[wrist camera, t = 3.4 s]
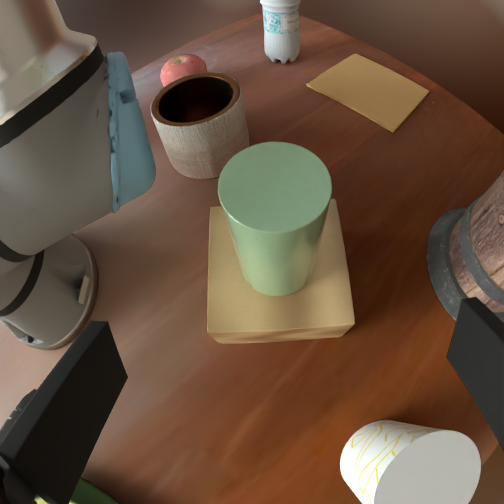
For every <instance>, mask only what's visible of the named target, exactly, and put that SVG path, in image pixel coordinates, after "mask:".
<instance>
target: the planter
mask: <svg viewBox="0 0 504 504" xmlns="http://www.w3.org/2000/svg"><path fill="white" fill-rule="evenodd" d="M150 112H151V116H152V118H153V121H154V123H155V125H156V128H157V130H158V133H159V135H160V138H161V140H162V143H163V145H164V148H165V150H166V153H167V155H168V158H169V160H170V163H171V164H172V166H173V167H174V169H175V170H176V171H177V172H178V173H180V174H181V175H183V176H185V177H188V178H192V179H211V178H216V177H219V176H220V174H221V172H222V170H223V168H224V167H225V165H226V164H227V163H228V161H229V160H230V159H231V158H232V157H233V156H235V155H236V154H237V153H239V152H240V151H242V150H244V149H245V148H248V147H249V135H248V129H247V122H246V116H245V110H244V103H243V96H242V90H241V86H240V84H239V83H238V81H237V80H235V79H234V78H233V77H231V76H229V75H226V74H223V73H217V72H201V73H195V74H190V75H187V76H184V77H181V78H179V79H177V80H175V81H173V82H171V83H169V84H168V85H166V86H165V87H164V88H162V89H161V90H160V91H159V92H158V93H157V95H156V96H155V97H154V99H153V101H152V103H151V107H150Z"/></svg>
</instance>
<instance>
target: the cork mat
mask: <svg viewBox="0 0 504 504" xmlns="http://www.w3.org/2000/svg"><path fill="white" fill-rule="evenodd" d="M306 86H307V87H309V88H311V89H313V90H315V91H317V92H319V93H321V94H323V95H325V96H327V97H329V98H331V99H333V100H335V101H337V102H339V103H341V104H343V105H345V106H347V107H349V108H351V109H352V110H354V111H356V112H358V113H360V114H362V115H363V116H365V117H367V118H369V119H370V120H372V121H374V122H376V123H377V124H379V125H381V126H382V127H384V128H386V129H387V130H389V131H391V132H392V133H393V132H394V131H395V130H396V129H397V128H398V127H399V126H400V125H401V124H402V122H403V121H404V120H405V119H406V118H407V117H408V116H409V115H410V114H411V112H412V111H413V110H414V109H415V108H416V107H417V106H418V105H419V103H420V102H421V101H422V100H423V99H424V98H425V97H426V96H427V94H428V93H429V90H427V89H425V88H423V87H422V86H420V85H418V84H416V83H415V82H413V81H411V80H409V79H407V78H405V77H403V76H402V75H400V74H398V73H396V72H394V71H392V70H390V69H388V68H386V67H384V66H382V65H380V64H378V63H375V62H373V61H371V60H369V59H367V58H365V57H362V56H360V55H358V54H356V53H355V54H353V55H351V56H350V57H348V58H346V59H345V60H343V61H341V62H340V63H338V64H337V65H335V66H333V67H332V68H330V69H329V70H327V71H326V72H324V73H322V74H321V75H319V76H318V77H316V78H315V79H313V80H312V81H310V82H309V83H307V84H306Z"/></svg>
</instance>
